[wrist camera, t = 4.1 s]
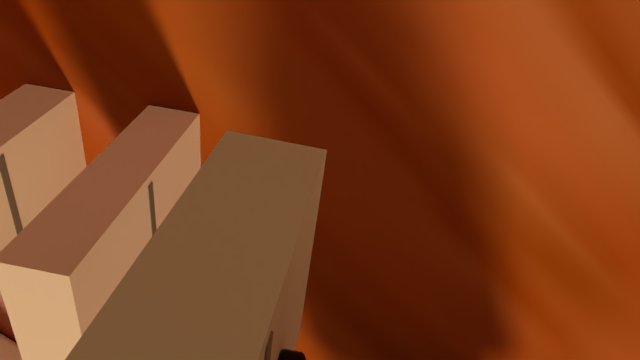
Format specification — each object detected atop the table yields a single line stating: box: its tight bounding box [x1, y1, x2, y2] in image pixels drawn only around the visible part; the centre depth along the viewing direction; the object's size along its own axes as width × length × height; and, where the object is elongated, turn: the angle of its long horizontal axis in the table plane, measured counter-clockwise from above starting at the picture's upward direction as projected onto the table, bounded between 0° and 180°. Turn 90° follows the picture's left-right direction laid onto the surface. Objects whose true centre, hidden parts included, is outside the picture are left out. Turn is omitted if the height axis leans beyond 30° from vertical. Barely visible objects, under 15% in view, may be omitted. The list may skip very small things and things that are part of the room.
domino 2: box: [0, 105, 201, 360], centre depth 18 cm, size 2×5×9 cm, turn 175°
